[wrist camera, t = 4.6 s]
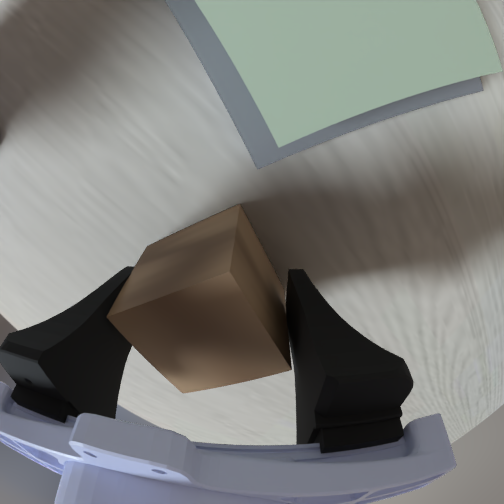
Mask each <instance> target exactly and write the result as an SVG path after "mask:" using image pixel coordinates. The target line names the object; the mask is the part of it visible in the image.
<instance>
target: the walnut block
mask: <svg viewBox="0 0 504 504" xmlns="http://www.w3.org/2000/svg"><path fill="white" fill-rule="evenodd" d="M107 318H108V319H109V321H110V322H111V323H112V324H113V325H114V326H115V327H116V328H117V329H118V331H119V332H120V333H121V334H122V335H123V336H124V337H125V338H126V339H127V340H128V341H129V342H130V343H131V344H132V345H133V346H134V348H135V349H136V350H137V351H138V352H139V353H140V354H141V355H142V356H143V357H144V358H145V359H146V360H147V361H148V362H149V363H150V364H151V365H153V366H154V367H155V368H156V369H157V370H158V371H159V372H160V373H161V374H162V375H163V376H164V377H165V378H166V379H167V380H168V381H170V382H171V383H172V384H173V385H174V386H175V387H176V388H177V389H178V390H180V391H181V392H182V393H189V392H195V391H200V390H206V389H211V388H217V387H222V386H227V385H231V384H236V383H241V382H245V381H250V380H254V379H258V378H262V377H266V376H270V375H274V374H278V373H282V372H286V371H289V370H292V367H291V356H290V345H289V334H288V326H287V319H286V304H285V294H284V288H283V286H282V284H281V282H280V280H279V278H278V277H277V275H276V273H275V271H274V269H273V267H272V265H271V263H270V261H269V259H268V257H267V255H266V253H265V251H264V249H263V247H262V245H261V243H260V241H259V240H258V238H257V236H256V234H255V232H254V230H253V228H252V226H251V224H250V222H249V220H248V218H247V216H246V214H245V213H244V211H243V209H242V207H241V205H240V204H238V205H236V206H234V207H231V208H229V209H227V210H225V211H222V212H220V213H218V214H216V215H213V216H211V217H209V218H207V219H204V220H202V221H200V222H198V223H196V224H193V225H191V226H189V227H187V228H185V229H182V230H180V231H178V232H176V233H174V234H172V235H170V236H168V237H165V238H163V239H161V240H159V241H157V242H155V243H153V244H151V245H149V246H147V247H146V249H145V251H144V252H143V254H142V255H141V257H140V259H139V260H138V262H137V264H136V265H135V267H134V269H133V270H132V272H131V275H130V276H129V278H128V279H127V281H126V282H125V284H124V286H123V288H122V289H121V291H120V293H119V295H118V297H117V298H116V300H115V302H114V304H113V306H112V308H111V309H110V311H109V313H108V315H107Z"/></svg>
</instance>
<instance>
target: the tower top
mask: <svg viewBox="0 0 504 504" xmlns="http://www.w3.org/2000/svg"><path fill="white" fill-rule="evenodd" d="M195 2H196V3H197V5H198V7H199V8H200V10H201V11H202V13H203V14H204V16H205V17H206V19H207V21H208V22H209V24H210V25H211V27H212V29H213V30H214V32H215V33H216V35H217V37H218V38H219V40H220V42H221V43H222V45H223V47H224V48H225V50H226V52H227V53H228V55H229V57H230V58H231V60H232V62H233V64H234V65H235V67H236V69H237V71H238V72H239V74H240V76H241V78H242V79H243V81H244V83H245V85H246V87H247V88H248V90H249V92H250V94H251V96H252V97H253V99H254V101H255V103H256V105H257V107H258V109H259V110H260V112H261V114H262V116H263V118H264V120H265V122H266V124H267V126H268V128H269V130H270V132H271V133H272V135H273V137H274V139H275V141H276V143H277V145H278V147H282V146H284V145H286V144H288V143H291V142H293V141H295V140H297V139H300V138H302V137H304V136H307V135H309V134H311V133H314V132H316V131H318V130H321V129H323V128H326V127H328V126H331V125H333V124H336V123H338V122H341V121H343V120H346V119H348V118H351V117H353V116H356V115H359V114H361V113H364V112H367V111H369V110H372V109H375V108H378V107H380V106H383V105H386V104H389V103H392V102H395V101H398V100H401V99H404V98H407V97H410V96H413V95H416V94H419V93H422V92H426V91H429V90H432V89H436V88H439V87H442V86H446V85H449V84H453V83H457V82H460V81H464V80H468V79H472V78H476V77H480V76H484V75H488V74H493V73H497V72H502V71H503V70H502V66H501V63H500V60H499V57H498V54H497V51H496V48H495V45H494V42H493V39H492V37H491V34H490V32H489V29H488V27H487V24H486V22H485V19H484V17H483V15H482V12H481V10H480V8H479V6H478V4H477V2H476V0H195Z"/></svg>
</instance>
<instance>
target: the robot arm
mask: <svg viewBox="0 0 504 504" xmlns="http://www.w3.org/2000/svg"><path fill="white" fill-rule="evenodd" d="M133 269H134V267H130V266H127V267H125V268H124V269H122V270H121V271H120V272H118V273H117V274H116V275H114V276H113V277H112V278H110V279H109V280H108V281H107V282H105V283H104V284H103V285H101V286H100V287H99V288H98V289H96V290H95V291H93V292H92V293H91V294H89V295H88V296H87V297H85V298H84V299H82V300H81V301H80V302H78V303H77V304H75V305H73V306H72V307H70V308H69V309H67V310H65V311H63V312H62V313H60V314H58V315H56V316H54V317H52V318H50V319H48V320H46V321H44V322H41V323H39V324H37V325H34V326H31V327H29V328H26V329H23V330H19V331H16V332H13V333H9V334H8V336H7V337H6V339H5V340H4V342H3V343H2V345H1V346H0V363H1V365H2V366H3V367H4V369H5V370H6V372H7V373H8V374H9V375H10V377H11V378H12V379H13V380H14V381H15V383H16V387H15V388H14V390H12V388H11V387H9V386H8V385H7V384H5V383H3V382H1V381H0V441H1V442H2V443H4V444H5V445H7V446H8V447H10V448H12V449H14V450H15V451H17V452H19V453H20V454H22V455H24V456H26V457H28V458H29V459H31V460H33V461H35V462H37V463H39V464H40V465H42V466H44V467H46V468H48V469H50V470H52V471H54V472H56V473H58V474H60V475H62V477H61V480H60V484H59V488H58V491H57V495H56V499H55V503H54V504H367V503H371V502H375V501H379V500H383V499H386V498H390V497H394V496H397V495H400V494H403V493H407V492H410V491H413V490H416V489H419V488H422V487H425V486H426V485H428V484H430V483H432V482H433V481H435V480H437V479H438V478H440V477H442V476H443V475H445V474H446V473H448V472H449V471H451V470H453V469H454V468H455V467H456V461H455V457H454V454H453V451H452V447H451V444H450V441H449V438H448V435H447V432H446V429H445V426H444V423H443V420H442V417H441V414H439V413H437V414H434V415H430V416H426V417H422V418H418V419H415V420H413V421H411V422H409V423H408V424H407V425H406V426H405V428H404V429H403V428H402V424H401V421H400V417H401V416H402V410H401V407H400V406H401V405H402V403H403V402H404V400H405V399H406V398H407V396H408V395H409V393H410V392H411V390H412V388H413V379H412V376H411V374H410V371H409V369H408V367H407V365H406V363H405V361H404V359H403V358H401V357H399V356H397V355H395V354H393V353H391V352H389V351H387V350H385V349H383V348H381V347H380V346H378V345H376V344H375V343H373V342H372V341H370V340H369V339H367V338H366V337H364V336H363V335H362V334H360V333H359V332H358V331H356V330H355V329H354V328H353V327H351V326H350V325H349V324H348V323H347V322H346V321H345V320H343V319H342V318H341V317H340V316H339V315H338V314H337V313H336V312H335V310H334V309H333V308H332V307H331V306H330V305H329V304H328V303H327V301H326V300H325V299H324V298H323V296H322V295H321V294H320V293H319V291H318V290H317V289H316V287H315V286H314V285H313V283H312V282H311V280H310V279H309V277H308V276H307V274H306V273H305V271H304V270H303V269H289V272H288V284H287V296H286V319H287V326H288V334H289V341H290V347H291V353H292V359H293V365H294V373H295V390H296V425H297V445H228V444H213V443H202V442H192V441H190V440H189V439H188V438H187V437H186V436H183V435H181V434H179V433H176V432H174V431H171V430H167V429H162V428H158V427H153V426H146V425H141V424H136V423H131V422H126V421H122V420H117V419H115V414H116V408H117V401H118V394H119V389H120V384H121V379H122V375H123V371H124V367H125V363H126V360H127V357H128V355H129V352H130V350H131V347H132V344H131V343H130V342H129V341H128V340H127V339H126V338H125V337H124V336H123V335H122V334H121V333H120V332H119V331H118V329H117V328H116V327H115V326H114V325H113V324H112V323H111V322H110V321H109V319H108V318H107V315H108V313H109V311H110V309H111V308H112V306H113V304H114V302H115V300H116V298H117V297H118V295H119V293H120V291H121V289H122V288H123V286H124V284H125V282H126V281H127V279H128V278H129V276H130V275H131V272H132V270H133Z"/></svg>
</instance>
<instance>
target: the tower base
mask: <svg viewBox="0 0 504 504" xmlns="http://www.w3.org/2000/svg"><path fill="white" fill-rule="evenodd" d="M165 1H166V3H167V5H168V6H169V8H170V10H171V11H172V13H173V15H174V16H175V18H176V20H177V21H178V23H179V25H180V27H181V28H182V30H183V32H184V33H185V35H186V37H187V39H188V40H189V42H190V44H191V46H192V47H193V49H194V51H195V53H196V54H197V56H198V58H199V60H200V61H201V63H202V65H203V67H204V69H205V70H206V72H207V74H208V76H209V78H210V79H211V81H212V83H213V85H214V87H215V89H216V90H217V92H218V94H219V96H220V98H221V100H222V102H223V103H224V105H225V107H226V109H227V111H228V113H229V115H230V117H231V119H232V120H233V122H234V124H235V126H236V128H237V130H238V132H239V134H240V136H241V138H242V140H243V142H244V144H245V146H246V148H247V150H248V152H249V153H250V155H251V157H252V159H253V161H254V163H255V165H256V167H257V169H260V168H262V167H265V166H267V165H269V164H271V163H274V162H276V161H278V160H281V159H283V158H285V157H288V156H290V155H293V154H295V153H297V152H300V151H302V150H305V149H307V148H310V147H312V146H315V145H317V144H320V143H322V142H325V141H327V140H330V139H333V138H335V137H338V136H340V135H343V134H346V133H348V132H351V131H354V130H357V129H359V128H362V127H365V126H368V125H371V124H373V123H376V122H379V121H382V120H385V119H388V118H391V117H394V116H397V115H400V114H403V113H406V112H409V111H413V110H416V109H419V108H422V107H426V106H429V105H432V104H436V103H439V102H443V101H446V100H450V99H453V98H457V97H461V96H465V95H468V94H472V93H476V92H480V91H483V87H482V83H481V79H480V77H476V78H472V79H468V80H464V81H460V82H457V83H453V84H449V85H446V86H442V87H439V88H436V89H432V90H429V91H426V92H422V93H419V94H416V95H413V96H410V97H407V98H404V99H401V100H398V101H395V102H392V103H389V104H386V105H383V106H380V107H378V108H375V109H372V110H369V111H367V112H364V113H361V114H359V115H356V116H353V117H351V118H348V119H346V120H343V121H341V122H338V123H336V124H333V125H331V126H328V127H326V128H323V129H321V130H318V131H316V132H314V133H311V134H309V135H307V136H304V137H302V138H300V139H297V140H295V141H293V142H291V143H288V144H286V145H284V146H282V147H278V145H277V143H276V141H275V139H274V137H273V135H272V133H271V132H270V130H269V128H268V126H267V124H266V122H265V120H264V118H263V116H262V114H261V112H260V110H259V109H258V107H257V105H256V103H255V101H254V99H253V97H252V96H251V94H250V92H249V90H248V88H247V87H246V85H245V83H244V81H243V79H242V78H241V76H240V74H239V72H238V71H237V69H236V67H235V65H234V64H233V62H232V60H231V58H230V57H229V55H228V53H227V52H226V50H225V48H224V47H223V45H222V43H221V42H220V40H219V38H218V37H217V35H216V33H215V32H214V30H213V29H212V27H211V25H210V24H209V22H208V21H207V19H206V17H205V16H204V14H203V13H202V11H201V10H200V8H199V7H198V5H197V3H196V2H195V0H165Z"/></svg>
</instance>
